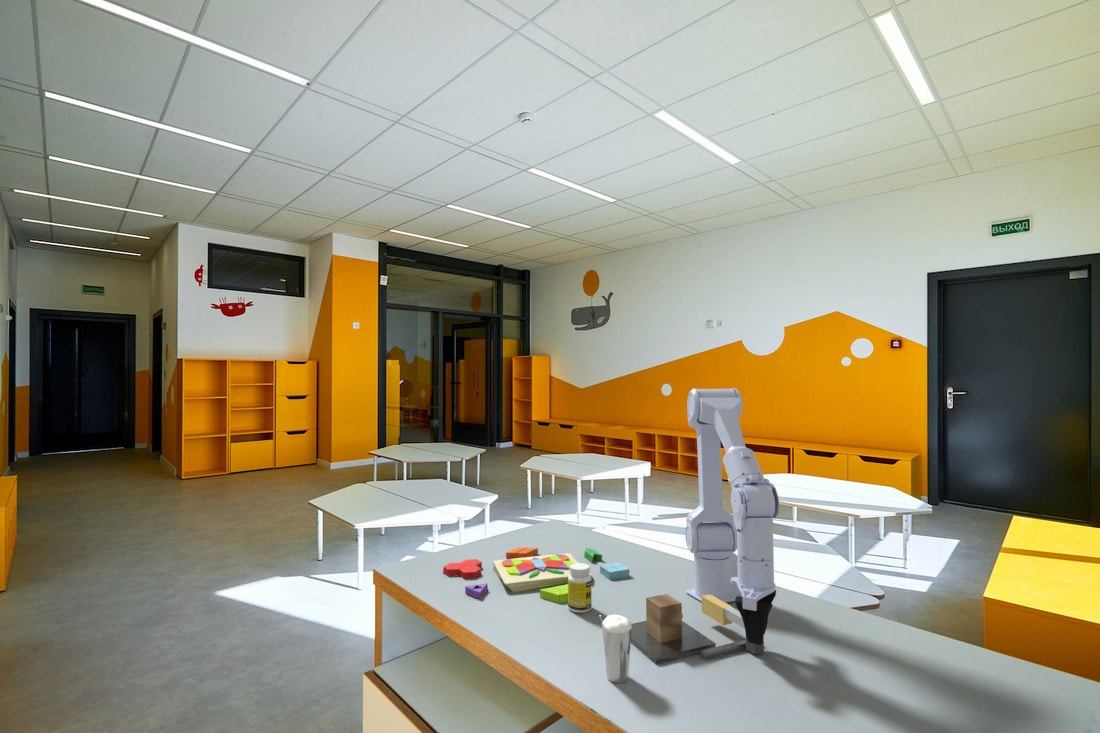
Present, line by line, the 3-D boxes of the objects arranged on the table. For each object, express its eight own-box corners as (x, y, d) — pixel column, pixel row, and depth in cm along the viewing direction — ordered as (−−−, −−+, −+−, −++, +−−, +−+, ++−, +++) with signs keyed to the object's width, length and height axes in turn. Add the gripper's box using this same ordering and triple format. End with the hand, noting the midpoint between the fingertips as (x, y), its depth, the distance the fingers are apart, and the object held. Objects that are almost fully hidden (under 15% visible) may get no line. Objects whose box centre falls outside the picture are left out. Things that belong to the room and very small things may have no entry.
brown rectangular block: (673, 626, 98) (672, 592, 98) (687, 636, 94) (687, 602, 94) (646, 631, 96) (646, 597, 96) (660, 642, 91) (660, 607, 92)
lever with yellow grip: (710, 618, 102) (710, 586, 102) (763, 651, 89) (763, 614, 90) (701, 620, 101) (701, 587, 101) (754, 654, 89) (753, 616, 89)
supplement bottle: (590, 614, 105) (589, 571, 105) (566, 612, 106) (565, 569, 106) (593, 604, 110) (592, 562, 110) (570, 602, 111) (569, 561, 111)
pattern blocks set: (568, 545, 151) (567, 534, 151) (648, 583, 122) (648, 569, 123) (437, 570, 131) (437, 558, 131) (496, 623, 103) (496, 607, 103)
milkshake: (592, 674, 84) (592, 609, 84) (622, 667, 86) (621, 603, 86) (607, 690, 79) (606, 621, 80) (638, 681, 82) (637, 615, 82)
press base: (707, 613, 105) (707, 607, 105) (760, 645, 92) (760, 639, 92) (618, 632, 98) (618, 626, 98) (662, 670, 85) (662, 663, 85)
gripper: (737, 541, 99) (739, 615, 98) (722, 565, 86) (723, 651, 86) (779, 546, 95) (780, 624, 95) (769, 572, 83) (771, 661, 82)
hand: (756, 637), depth 90 cm, fingers closed on lever with yellow grip, 3 cm apart
